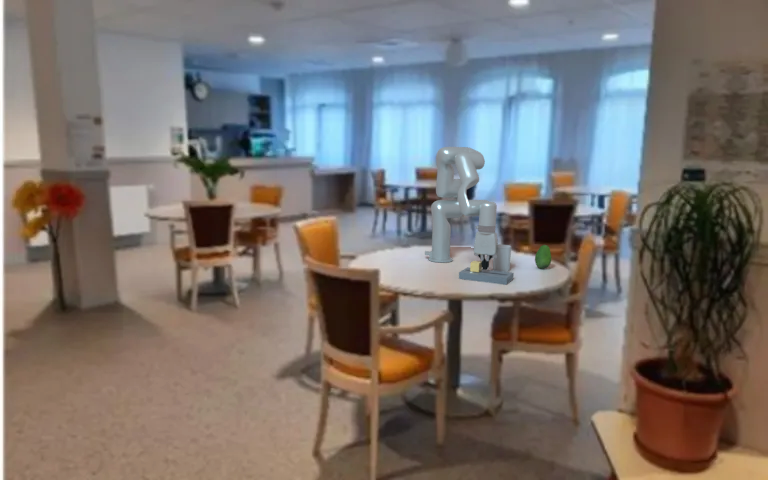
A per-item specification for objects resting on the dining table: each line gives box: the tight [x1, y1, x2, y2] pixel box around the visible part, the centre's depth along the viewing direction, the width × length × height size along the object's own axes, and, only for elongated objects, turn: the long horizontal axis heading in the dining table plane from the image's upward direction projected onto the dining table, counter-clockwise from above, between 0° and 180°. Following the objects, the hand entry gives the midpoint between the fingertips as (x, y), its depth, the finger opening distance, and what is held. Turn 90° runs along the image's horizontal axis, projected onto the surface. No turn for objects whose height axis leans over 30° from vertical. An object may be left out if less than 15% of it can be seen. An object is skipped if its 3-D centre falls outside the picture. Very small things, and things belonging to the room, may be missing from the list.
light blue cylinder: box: [492, 243, 512, 272], centre depth 283 cm, size 8×8×12 cm
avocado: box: [534, 244, 552, 270], centre depth 288 cm, size 8×8×12 cm
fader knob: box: [469, 260, 482, 272], centre depth 266 cm, size 4×5×4 cm
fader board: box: [458, 266, 514, 286], centre depth 265 cm, size 22×12×3 cm, turn 63°
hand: (485, 269), depth 265 cm, fingers closed
